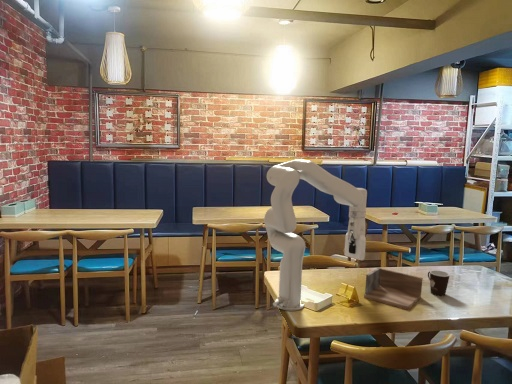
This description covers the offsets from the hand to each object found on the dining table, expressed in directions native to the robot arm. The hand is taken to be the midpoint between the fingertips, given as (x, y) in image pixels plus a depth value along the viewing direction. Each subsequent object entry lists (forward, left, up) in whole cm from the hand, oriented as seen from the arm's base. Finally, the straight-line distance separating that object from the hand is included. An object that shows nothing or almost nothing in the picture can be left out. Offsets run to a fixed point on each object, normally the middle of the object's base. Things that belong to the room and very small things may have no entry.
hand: (354, 251), depth 190 cm
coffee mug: (+25, -32, -19) cm, 45 cm away
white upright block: (0, 0, -3) cm, 3 cm away
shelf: (+4, -18, -19) cm, 27 cm away
